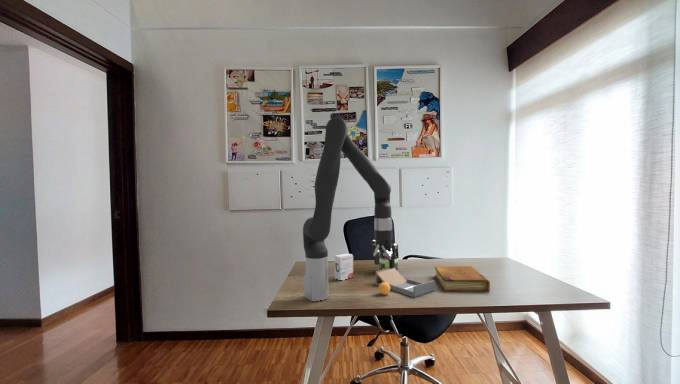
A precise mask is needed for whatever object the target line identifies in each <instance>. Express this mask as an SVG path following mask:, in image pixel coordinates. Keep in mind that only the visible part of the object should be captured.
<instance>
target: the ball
mask: <svg viewBox="0 0 680 384" xmlns="http://www.w3.org/2000/svg"><path fill="white" fill-rule="evenodd" d="M378 291H379V293H380V294H381V295H383V296H385V295H388V294H389V293H390V291H391V289H390V285H389V284H388V283H386V282H383V283H381V284H380V285H378Z"/></svg>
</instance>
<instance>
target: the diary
mask: <svg viewBox="0 0 680 384" xmlns="http://www.w3.org/2000/svg"><path fill="white" fill-rule="evenodd" d="M434 270H435V274H434V278H435V280H436V281H437V282H438V283H439V285H440V286H441V288H442V291H444V292H467V293H468V292H469V293H471V292H473V293H474V292H475V293H490V291H491V290H490V289H491V288H490V287H491V283H490V280H488V279H487V278H486V277H485V276H484V275H483V274H482V273H480V272H479V271H478V270H477V269H475V268H474V267H473V266H472V265H469V266H468V265H467V266H465V265H460V266H459V265H435V266H434Z"/></svg>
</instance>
